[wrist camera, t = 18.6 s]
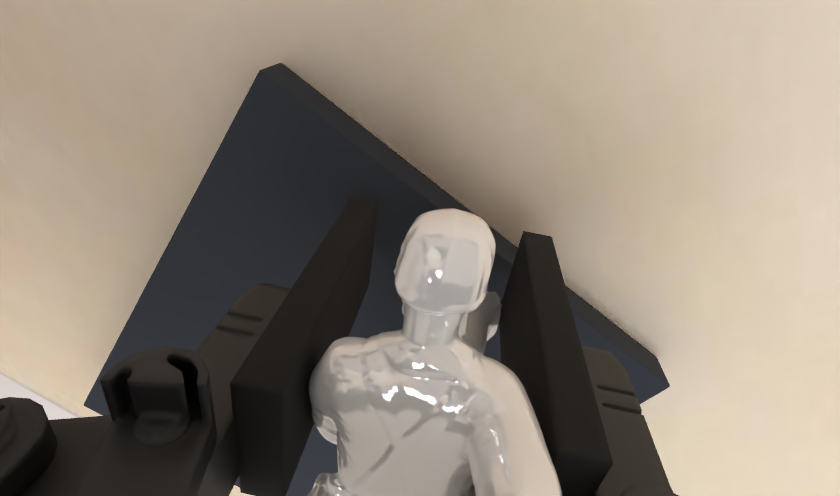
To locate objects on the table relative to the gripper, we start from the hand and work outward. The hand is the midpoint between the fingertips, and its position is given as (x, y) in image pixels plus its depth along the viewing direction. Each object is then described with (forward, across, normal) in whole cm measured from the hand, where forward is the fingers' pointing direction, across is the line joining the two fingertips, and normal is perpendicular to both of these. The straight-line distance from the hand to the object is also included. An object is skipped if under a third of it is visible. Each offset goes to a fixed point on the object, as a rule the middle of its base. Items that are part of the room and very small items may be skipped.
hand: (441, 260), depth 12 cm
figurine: (-5, 0, -8) cm, 10 cm away
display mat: (+3, -3, -9) cm, 10 cm away
